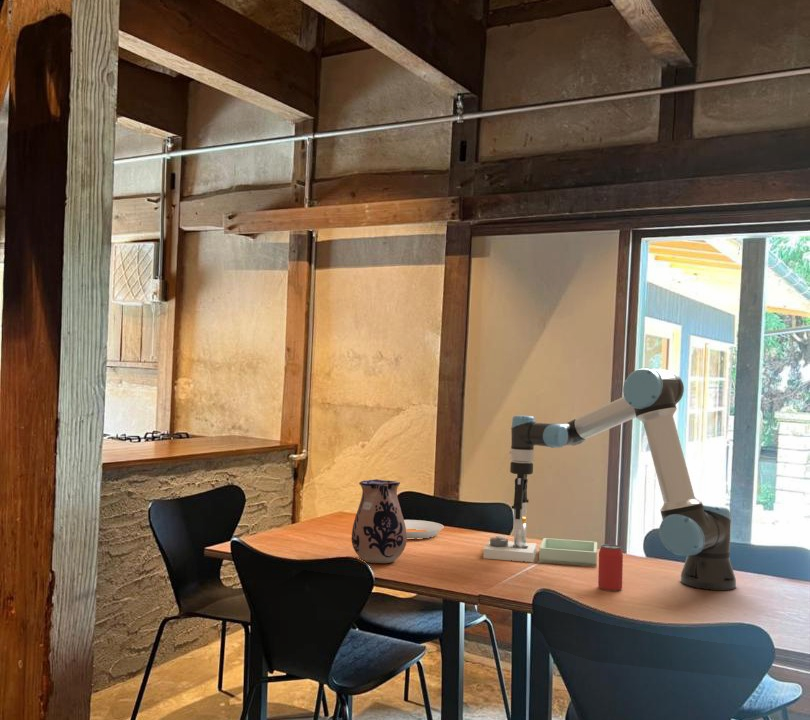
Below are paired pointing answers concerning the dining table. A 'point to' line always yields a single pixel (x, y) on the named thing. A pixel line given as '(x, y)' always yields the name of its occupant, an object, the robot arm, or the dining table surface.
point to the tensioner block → (509, 550)
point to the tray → (568, 552)
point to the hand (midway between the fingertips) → (519, 525)
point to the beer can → (610, 567)
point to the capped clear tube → (520, 535)
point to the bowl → (422, 528)
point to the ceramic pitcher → (379, 523)
